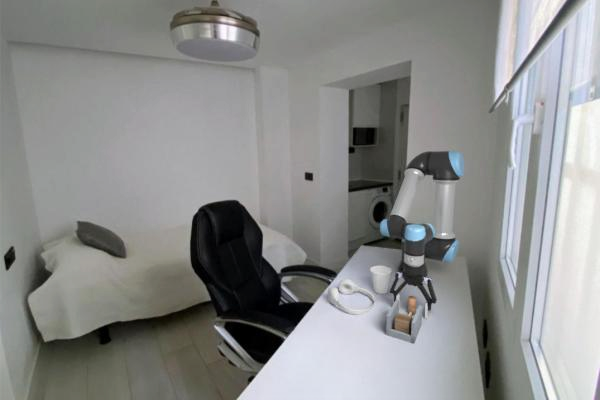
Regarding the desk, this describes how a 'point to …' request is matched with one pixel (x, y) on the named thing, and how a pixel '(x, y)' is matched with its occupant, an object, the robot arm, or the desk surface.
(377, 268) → the cup
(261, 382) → the desk surface
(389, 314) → the lane
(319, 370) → the desk surface
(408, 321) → the tethered block
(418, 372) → the desk surface
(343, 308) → the headphones
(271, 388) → the desk surface
